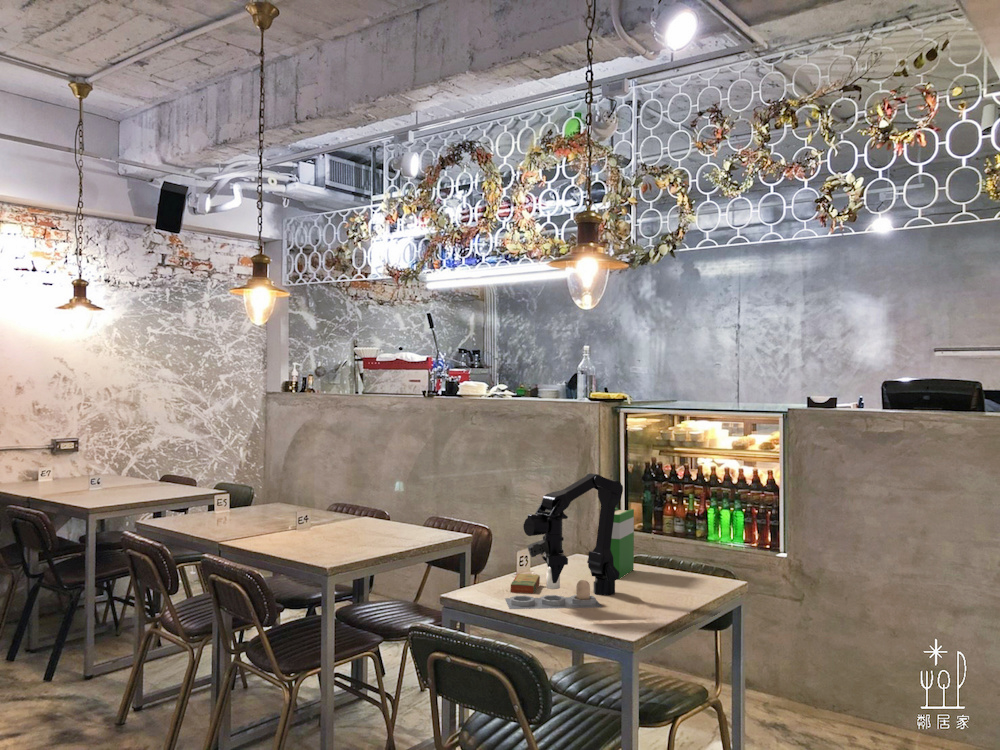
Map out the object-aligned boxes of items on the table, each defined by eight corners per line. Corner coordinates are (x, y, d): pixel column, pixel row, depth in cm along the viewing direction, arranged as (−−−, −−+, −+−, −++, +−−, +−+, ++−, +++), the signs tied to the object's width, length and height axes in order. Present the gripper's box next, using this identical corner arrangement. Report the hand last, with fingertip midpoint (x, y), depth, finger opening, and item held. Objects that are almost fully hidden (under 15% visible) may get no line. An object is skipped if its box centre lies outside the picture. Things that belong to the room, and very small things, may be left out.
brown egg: (588, 600, 257) (588, 578, 257) (591, 603, 252) (591, 581, 253) (575, 600, 256) (575, 578, 257) (577, 604, 252) (578, 581, 252)
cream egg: (558, 585, 256) (558, 563, 256) (561, 589, 252) (561, 566, 252) (545, 585, 255) (545, 563, 256) (547, 589, 251) (547, 566, 251)
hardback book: (615, 568, 310) (615, 507, 311) (633, 570, 307) (633, 509, 307) (600, 577, 294) (600, 513, 295) (619, 579, 291) (619, 515, 292)
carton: (540, 586, 281) (540, 574, 281) (534, 597, 265) (534, 585, 265) (517, 584, 282) (517, 573, 282) (509, 596, 266) (510, 583, 266)
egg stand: (593, 599, 261) (593, 592, 261) (602, 610, 248) (602, 602, 248) (504, 601, 258) (504, 593, 258) (509, 612, 245) (509, 604, 245)
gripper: (525, 528, 262) (524, 575, 262) (533, 538, 244) (533, 588, 243) (557, 528, 264) (557, 574, 263) (568, 538, 245) (568, 588, 245)
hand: (553, 581), depth 254 cm, fingers closed on cream egg, 4 cm apart
